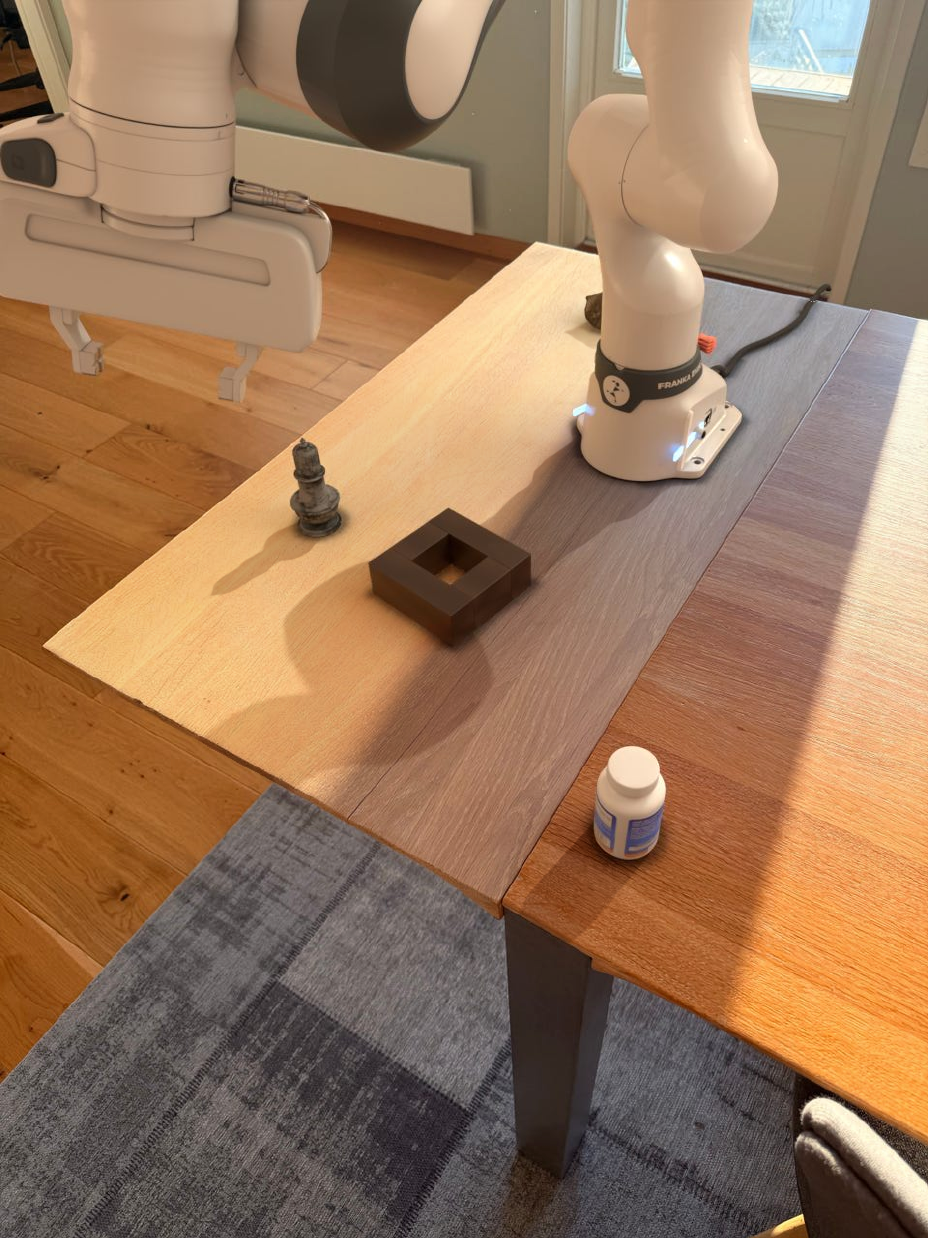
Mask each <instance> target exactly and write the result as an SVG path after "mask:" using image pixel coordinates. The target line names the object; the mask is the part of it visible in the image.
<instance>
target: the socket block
mask: <svg viewBox="0 0 928 1238" xmlns="http://www.w3.org/2000/svg"><path fill="white" fill-rule="evenodd" d="M367 564H368V570H369V577H370V582H371V588H372V593H373V594H374V595H375V596H376V597H378V598H380V599H381V600H382V601H384V602H385V603H387V604H388V605H390V606H391V607H393V608H394V609H396V611H397V610H398V611H399V612H401V613H402V614H404V616H407V617H408V618H409V619H410V620H412V621H414V622H415V623H417V624H418V625H420V626H421V627H423V628H424V629H426V630H427V631H429V632H430V633H432V634H433V635H435V636H436V637H438V638H439V639H441V640H442V641H444V642H445V643H447V644H448V645H450V646H451V647H453V648H454V647H456V646H457V645H458V644H459V643H460V642H461V641H463V640H464V639H465V638H467V637H468V636H469V635H470V634H472V633H473V632H474V631H475V630H476V629H478V628H479V627H480V626H481V625H482V624H484V623H486V621H487V620H489V619H490V618H491V617H493V616H494V615H495V614H496V613H498V612H499V611H500V610H502V609H503V608H504V607H506V605H508V604H509V603H510V602H511V601H512V600H514V599H515V598H517V597H518V596H519V595H520V594H521V593H523V592H524V591H525V590H526V589H527V588H528V587H530V586H531V585H532V553H530V552H529V551H527V550H525V549H523V548H522V547H520V546H518V545H516V544H514V543H513V542H511V541H509V540H507V539H506V538H504V537H502V536H500V535H499V534H497V533H494V532H493V531H492V530H489V529H488V528H486V527H484V526H483V525H480V524H479V523H477V522H475V521H473V520H472V519H470V518H468V517H466V516H464V515H463V514H461V513H459V512H457V511H456V510H454V509H452V508H451V507H447V508H445V509H443V510H442V511H440V512H439V513H438V514H436V515H435V516H434V517H432V518H431V519H429V520H428V521H426V522H425V523H423V524H422V525H420V526H419V527H418V528H416V529H415V530H414V531H412V532H411V533H409V534H408V535H407V536H405V537H404V538H402V539H401V540H399V541H398V542H397V543H395V544H394V545H392V546H391V547H389V548H387V549H386V550H385V551H383V552H381V553H380V554H379V555H378V556H376V557H375V558H373V559H372V560H370V561H368V562H367ZM450 565H452V566H454V567H456V568H458V569H459V570H462V572H464V574H462V576H460V577H459V578H457V580H455V581H454V582H452V583H451V584H450V583H448V582H446V581H445V580H443V579H441V578H439V577H438V576H437V575H438V574H439V573H441V572H442V571H444V570H445V569H447V568H448V567H449V566H450Z"/></svg>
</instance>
